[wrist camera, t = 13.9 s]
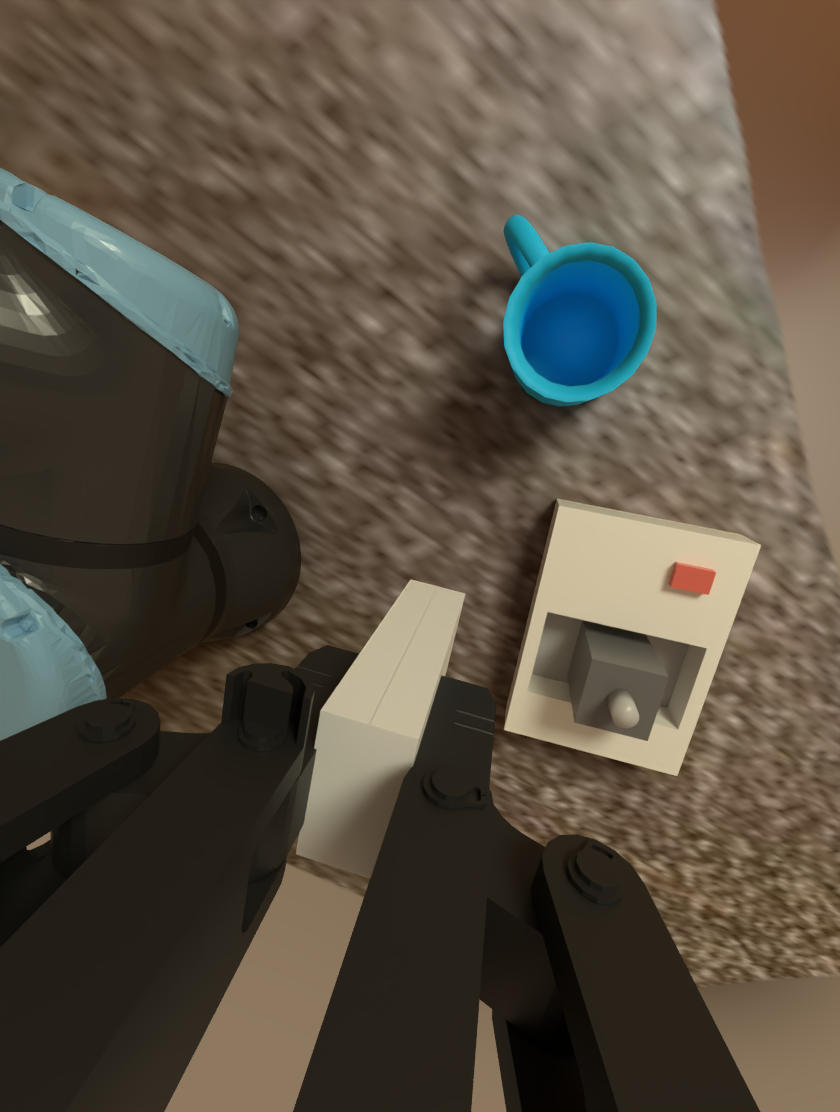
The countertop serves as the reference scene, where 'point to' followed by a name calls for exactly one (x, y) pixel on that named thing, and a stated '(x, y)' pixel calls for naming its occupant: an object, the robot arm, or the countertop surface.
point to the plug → (615, 680)
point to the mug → (575, 317)
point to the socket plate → (628, 622)
